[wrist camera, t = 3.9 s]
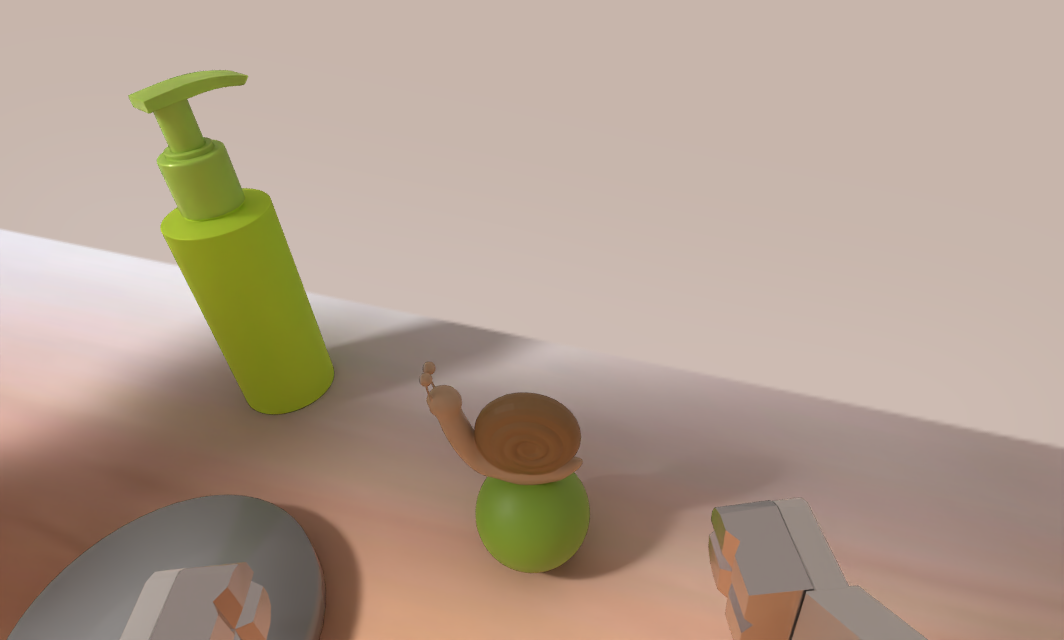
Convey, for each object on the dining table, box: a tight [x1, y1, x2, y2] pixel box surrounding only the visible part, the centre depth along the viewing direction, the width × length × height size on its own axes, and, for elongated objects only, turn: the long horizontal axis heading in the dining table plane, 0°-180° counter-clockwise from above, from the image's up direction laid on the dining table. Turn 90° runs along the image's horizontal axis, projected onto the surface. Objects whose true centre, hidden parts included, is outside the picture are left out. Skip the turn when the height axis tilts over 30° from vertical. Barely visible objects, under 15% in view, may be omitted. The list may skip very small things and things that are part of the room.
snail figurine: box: [419, 362, 590, 573], centre depth 29 cm, size 5×6×12 cm
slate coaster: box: [7, 495, 326, 640], centre depth 29 cm, size 14×14×2 cm
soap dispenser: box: [129, 70, 334, 414], centre depth 38 cm, size 6×7×20 cm
